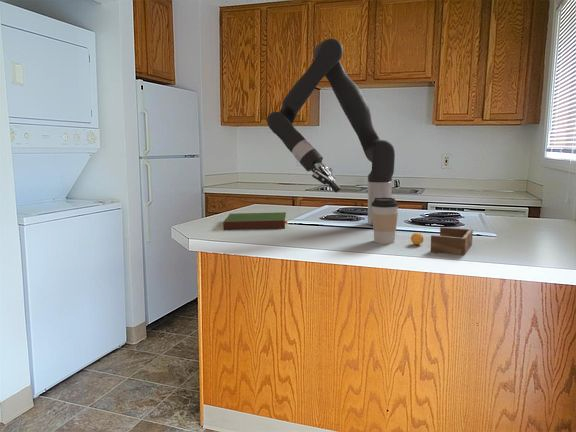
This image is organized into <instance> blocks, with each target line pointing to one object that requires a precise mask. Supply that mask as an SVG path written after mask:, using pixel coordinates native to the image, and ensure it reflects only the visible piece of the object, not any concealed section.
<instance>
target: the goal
mask: <svg viewBox="0 0 576 432" xmlns="http://www.w3.org/2000/svg"><path fill="white" fill-rule="evenodd" d="M473 233H474V230H473V229H471V228H470V229H469V228H457V227H445V226H443V227H442V226H441V227H440V228H439V235H435V234H431V235H430V253H431V252H432V253H442V254H451V255H453V254H454V255H462V256H465V255H466V253H468V251H469V249H470V248H471V247H472V245H473Z"/></svg>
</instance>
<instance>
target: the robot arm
mask: <svg viewBox="0 0 576 432" xmlns="http://www.w3.org/2000/svg"><path fill="white" fill-rule="evenodd" d="M343 48H344V47H343V45H342V43H341V42H340V41H339V40H338V39H335V38H327V39H325V40H323V41H321V42H320V43H318V44H317V45H315V48H314V50H313V57H314V59H313V61H312V62H311V64H310V65H309V67H308V68H307V70H306V71H305V72H304V73H303V74H302V76H301V77H299V79H298V80H297V81H296V82H295V83H294V85H293V86H291V89H290V90H289V91H288V93H287V94H286V95H285V96H284V98H283V100H282V103H281V109H280V111H273V112H270V114H269V115H268V116H267V118H266V124H267V126H268V127H269V129H270V130H271V132H272V133H274V134H275V135H276V136H277V137H278V138H279V139H280V141H282V143H283V145H284V146H285V147H286V148H287V149H288V150H289V152H290V153H291V154H292V155H293V158H295V159H296V161H298V163H299V164H300V165H301V166H302V167H303V168H304V169H305V171H306V172H312V173H313V174H312V175H311V177H312V178H314V179H315V180H317V181H318V182H320V184H323V185H327V186H329V187H330V188H331V189H332V191H333V192H334V193H339V192H340V191H341V189H342V186H340V185H339V184H338V183H337V182H336V178H337V177H336V175H335V172H334V170H333V168H332V167H329V168H328V166H327V165H326V164H324V163H323V162H322V161H323V159H324V158H323V156H322V154H321V153H319V151H318V150H317V149H316V148H315V147H314V146H313V144H311V142H309V141H308V140H307V139H306V138H305V137H304V136H303V135H302V134H301V132H299V131H298V130H297V129H296V128H295V127H294V126H293V124H294V121H295V119H296V118H297V115H298V113H299V112H300V111H301V110H302V109H301V108H302V107H303V106H304V105H305V103H306V102H307V100H308V99H309V97H310V96H311V95H312V93H313V92H314V90H315V89H317V88H316V87H317V86H318V85H319V83H321V81H322V80H323V78H324V77H325V78H326V79H327V81H328V83H329V84H330V87H331V88H332V91H333V94H334V95H335V98H336V99H337V102H338V103H339V105H340V108H341V109H342V112H343V113H344V115H345V117H346V118H347V120H348V121H349V123H350V125H351V128H353V131H354V132H355V134H356V135H357V137H358V140H359V143H360V146H361V148H362V150H363V153H364V155H365V157H366V158H367V160H368V162H370V163H371V171H370V172H369V174H368V175H367V225H369V226H372V225H373V220H372V206H371V205H372V202H373V201H374V199H375V197H376V198H393V197H392V193H393V192H392V190H393V189H392V187H393V186H392V184H393V183H392V182H393V181H392V180H393V175H394V174H395V173H394V172H395V161H396V160H395V158H396V155H395V147H394V145H393V143H391V141H388V140H384V139H381V138H380V136H379V135H378V133H377V131H376V130H375V128H374V125H373V122H372V116H371V115H372V114H371V110H370V106H369V103H368V102H367V100H366V98H365V96H364V94H363V92H362V90H361V88H360V87H359V86H358V85H357V84H356V83H355V82H354V80H353V79H351V78H350V76H349V75H348V74H347V72H346V70H345V69H344V67H343V64H342V63H341V59H342V57H343V53H344V49H343Z"/></svg>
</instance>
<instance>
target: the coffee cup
mask: <svg viewBox="0 0 576 432" xmlns="http://www.w3.org/2000/svg"><path fill="white" fill-rule="evenodd" d="M371 206H372V220H373V226H372V229H373V242H374V243H375V244H380V245H381V244H382V245H388V244H389V245H391V244H394V243H395V242H396V231H397V224H398V218H399V217H398V216H399V215H398V214H399V212H398V209H399V206H400V205H399V202H398V201H397V200H396V199H395V198H393V197H392V198H376V197H375V199H374V201H373V202H372V205H371Z"/></svg>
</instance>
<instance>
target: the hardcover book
mask: <svg viewBox="0 0 576 432" xmlns="http://www.w3.org/2000/svg"><path fill="white" fill-rule="evenodd" d="M286 215H287V212H286V211H285V212H284V211H283V212H248V213H247V212H242V213H241V212H240V213H230V214H228V215H227V216H226V218H225V219H224V220H223V222H222V223H223V224H222V225H223V230H224V231H240V230H243V231H244V230H245V231H246V230H281V229H282V230H283V229H284V230H285V228H286V224H287V223H288V221H287V219H286V217H287V216H286Z"/></svg>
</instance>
